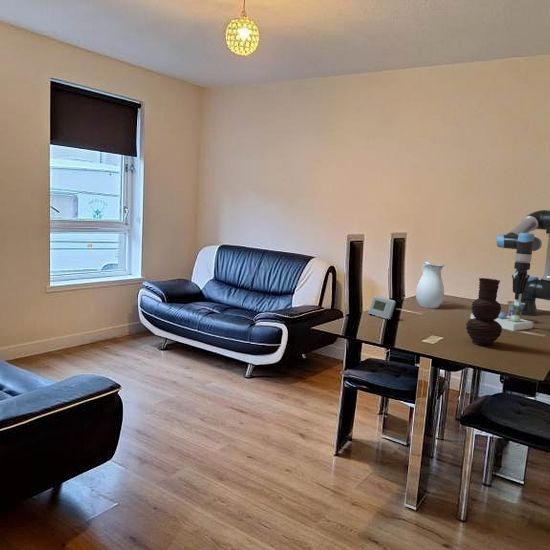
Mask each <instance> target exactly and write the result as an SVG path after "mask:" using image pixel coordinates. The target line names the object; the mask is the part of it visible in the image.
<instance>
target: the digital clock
mask: <svg viewBox="0 0 550 550" xmlns="http://www.w3.org/2000/svg"><path fill="white" fill-rule="evenodd" d="M396 303H397V302H396V301H395V300H393V299H390V298H387V297H383V296H378V295H374V296H373V297H372V299H371V303H370V306H369V309H368V312H367V313H369V314H368V315H370V314H372V315H376V316H379V317H382V318H385V319H384V320H387V319H388V320H389V319H390V320H391V319H392V318H393V314H394V309H395V306H396ZM372 315H371V316H372ZM379 317H378V318H379ZM391 317H392V318H391ZM382 318H381V319H382ZM388 320H387V321H388Z"/></svg>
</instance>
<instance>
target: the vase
mask: <svg viewBox="0 0 550 550" xmlns="http://www.w3.org/2000/svg"><path fill="white" fill-rule="evenodd" d="M500 282H501V280H498V279H496V278H495V279H494V278H490V277H487V278H485V277H482V278H481V277H478V283H479V285H478V286H479V287H478V295H477V296H478V298H477V299H474V300H473V301H472V303H471V314H473V315H474V317H475V318H474V319H470V318H469V320H467V322H466V323H465V324H466V325H465V326H466V327H465V329H466V333H467V334H468V336H469V337H470V339H471V342H472V343H473V344H474V343H476V344H475V345H478V344H480V345H479V346H483V345H490V346H492V344H493V343H494V342H495V341H497V340H498V338H499V337H501V334H502V331H503V328H502V326H501V325H500V324H499V323H498V322H497V321H495V319H497V318H498V317H499V315H500V312H502V307H501V304H500V302H498V301H497V297H498V290H499V287H500V286H499V285H500Z"/></svg>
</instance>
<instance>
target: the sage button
mask: <svg viewBox="0 0 550 550" xmlns="http://www.w3.org/2000/svg"><path fill="white" fill-rule="evenodd" d="M521 317H522V315H521V316H518V315H511V318H510V321H512V322H516V323H518V322H520V318H521Z"/></svg>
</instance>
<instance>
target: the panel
mask: <svg viewBox="0 0 550 550" xmlns="http://www.w3.org/2000/svg"><path fill="white" fill-rule="evenodd" d="M474 318H475V317H474V315H473V313H470V318H469V319H474ZM510 318H511V317H510V316H508V315H507V316H506V319H500V318H497V319H495V321H497V322H498V323H499V324H500V325H501V326H502V328H501V329H504V330H508V331H513V332H514V331H515V332H516V331H522V330H528V329H529V330H530V329H533V327H534V321H531V320H526V319H523V318H522V319H520V322H518V323H516V322H512V321H510Z"/></svg>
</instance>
